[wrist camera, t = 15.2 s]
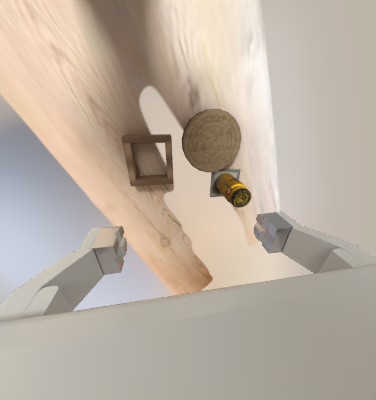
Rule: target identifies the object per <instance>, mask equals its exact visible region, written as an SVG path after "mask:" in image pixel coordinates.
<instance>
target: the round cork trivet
mask: <svg viewBox="0 0 376 400" xmlns="http://www.w3.org/2000/svg"><path fill="white" fill-rule="evenodd" d="M240 143H241V133H240V127H239V125H238V123H237V121H236V119H235V118H234V117H233V116H231V115H230V114H229V113H228V112H225V111H223V110H220V109H209V110H205V111H203V112H200V113H198V114H196V115H195V116H194V117H193V118H192V119H191V120H190V121H189V122H188V124H187V126H186V127H185V129H184V132H183V136H182V149H183V151H184V154H185V156H186V158H187V160H188V161H189V162H190V163H191V165H192V166H193V167H195V168H196V169H198V170H200V171H204V172H216V171H218V170H221V169H223V168H225V167H226V166H227V165H229V164H230V163H231V162H232V161H233V159H234V158H235V157H236V155H237V153H238V150H239V148H240Z"/></svg>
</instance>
